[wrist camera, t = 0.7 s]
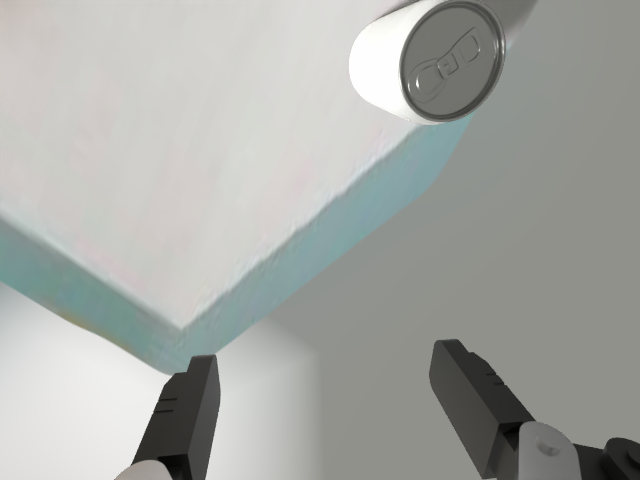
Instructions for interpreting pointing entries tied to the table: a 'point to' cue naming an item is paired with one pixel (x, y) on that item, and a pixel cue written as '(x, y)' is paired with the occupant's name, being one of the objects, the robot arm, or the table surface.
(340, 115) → the table surface
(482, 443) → the robot arm
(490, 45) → the can
